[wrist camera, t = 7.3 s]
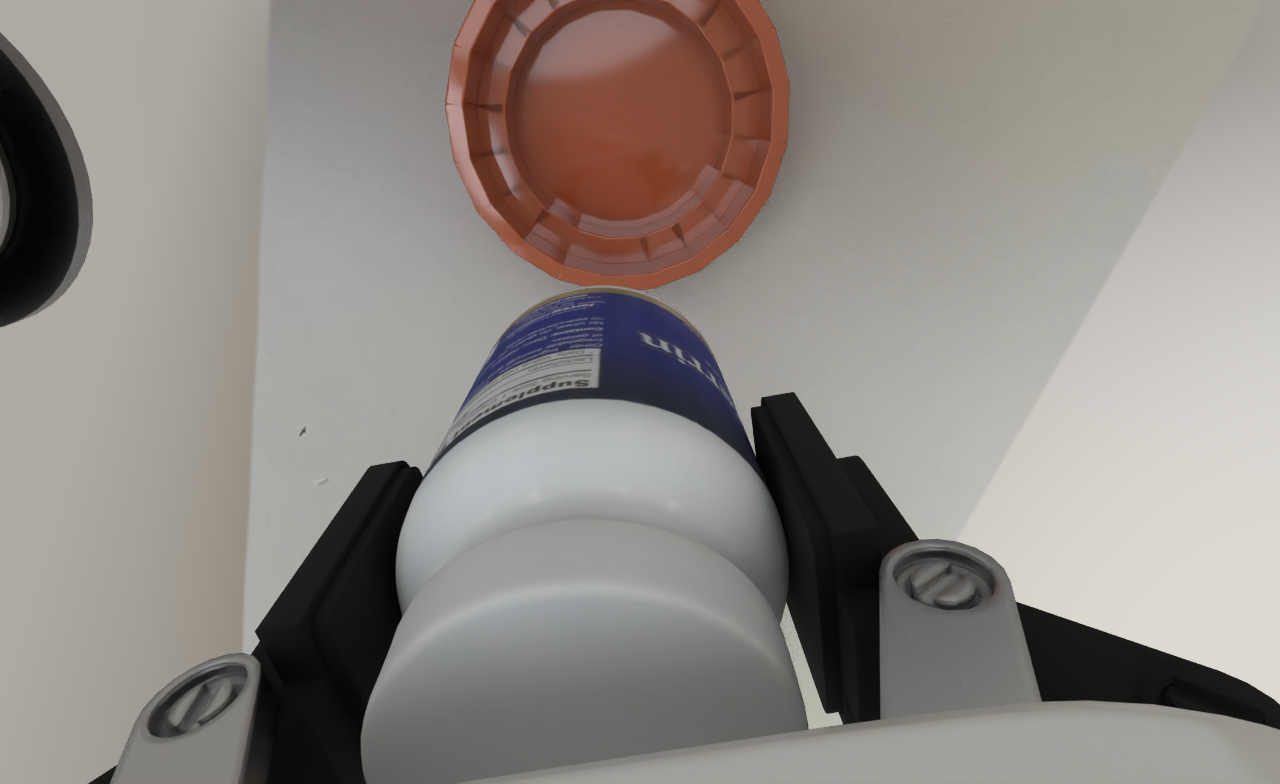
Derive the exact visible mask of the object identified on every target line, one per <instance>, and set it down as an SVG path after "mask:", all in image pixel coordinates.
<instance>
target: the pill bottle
mask: <svg viewBox="0 0 1280 784" xmlns="http://www.w3.org/2000/svg"><path fill="white" fill-rule="evenodd" d="M788 584H789V556H788V548H787V542H786V537H785V533H784V528H783V525H782V521H781V518H780V514H779V512H778V509H777V506H776V504H775V501H774V498H773V496H772V493H771V491H770V488H769V486H768V484H767V481H766V479H765V477H764V474H763V472H762V470H761V467H760V465H759V463H758V461H757V459H756V456H755V454H754V452H753V449H752V447H751V444H750V442H749V440H748V437H747V435H746V432H745V430H744V427H743V424H742V422H741V420H740V417H739V415H738V413H737V410H736V408H735V405H734V403H733V400H732V398H731V396H730V393H729V391H728V388H727V386H726V384H725V381H724V379H723V376H722V373H721V371H720V369H719V367H718V364H717V362H716V360H715V358H714V355H713V353H712V351H711V349H710V347H709V345H708V344H707V342H706V340H705V339H704V338H703V336H702V335H701V333H700V332H699V331H698V329H697V328H696V327H695V326H694V325H693V324H692V323H691V322H690V321H689V320H688V319H687V318H686V317H685V316H684V315H683V314H681V313H680V312H679V311H678V310H676V309H675V308H674V307H672V306H671V305H669V304H668V303H666V302H664V301H662V300H661V299H659V298H657V297H655V296H653V295H650V294H648V293H645V292H642V291H639V290H635V289H630V288H625V287H619V286H607V285H599V286H586V287H579V288H574V289H570V290H566V291H563V292H559V293H557V294H554V295H552V296H550V297H547V298H545V299H543V300H541V301H540V302H538V303H536V304H535V305H533V306H532V307H530V308H529V309H528V310H526V311H525V312H524V313H522V314H521V315H520V316H519V317H518V318H517V319H516V320H515V321H514V322H513V323H512V324H511V325H510V326H509V327H508V328H507V329H506V331H505V332H504V333H503V334H502V336H501V337H500V339H499V340H498V341H497V343H496V344H495V346H494V347H493V349H492V351H491V353H490V354H489V356H488V358H487V360H486V361H485V363H484V365H483V367H482V369H481V370H480V372H479V374H478V376H477V378H476V380H475V382H474V384H473V386H472V388H471V390H470V391H469V393H468V395H467V397H466V399H465V401H464V403H463V405H462V406H461V408H460V410H459V412H458V414H457V416H456V418H455V419H454V421H453V423H452V425H451V427H450V429H449V431H448V432H447V434H446V436H445V438H444V440H443V441H442V443H441V445H440V447H439V449H438V451H437V453H436V455H435V457H434V458H433V460H432V462H431V464H430V466H429V468H428V470H427V472H426V473H425V475H424V477H423V479H422V481H421V483H420V485H419V486H418V488H417V491H416V493H415V495H414V497H413V500H412V502H411V505H410V507H409V510H408V512H407V515H406V517H405V520H404V523H403V526H402V529H401V533H400V537H399V541H398V548H397V555H396V587H397V594H398V600H399V604H400V609H401V614H402V619H401V621H400V623H399V625H398V627H397V629H396V632H395V635H394V638H393V641H392V644H391V647H390V649H389V652H388V654H387V657H386V659H385V662H384V664H383V667H382V669H381V672H380V674H379V677H378V679H377V681H376V684H375V686H374V689H373V691H372V694H371V696H370V699H369V702H368V706H367V709H366V712H365V716H364V721H363V727H362V733H361V758H362V768H363V773H364V777H365V781H366V784H454V783H460V782H466V781H473V780H479V779H486V778H492V777H498V776H505V775H511V774H518V773H524V772H531V771H537V770H544V769H550V768H557V767H563V766H570V765H576V764H583V763H589V762H596V761H602V760H609V759H615V758H622V757H628V756H635V755H642V754H648V753H655V752H662V751H669V750H675V749H682V748H689V747H695V746H702V745H709V744H715V743H722V742H729V741H736V740H742V739H749V738H756V737H762V736H769V735H776V734H782V733H789V732H796V731H803V730H808V721H807V716H806V711H805V706H804V702H803V698H802V694H801V691H800V687H799V684H798V680H797V677H796V673H795V670H794V667H793V663H792V660H791V657H790V654H789V650H788V647H787V645H786V641H785V638H784V635H783V632H782V629H781V627H780V623H781V620H782V616H783V612H784V608H785V604H786V600H787V593H788Z"/></svg>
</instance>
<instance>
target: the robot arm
mask: <svg viewBox="0 0 1280 784" xmlns="http://www.w3.org/2000/svg"><path fill="white" fill-rule="evenodd" d="M15 219H16V190H15V185H14V179H13V174H12V170H11V167H10V164H9V162H8V159H7V157H6V154H5V151H4V149H3V146H2V144H1V142H0V255H1V254H2V252H3V250H4V249H5V247H6V245H7V243H8V241H9V240H10V238H11V236H12V232H13V227H14V223H15ZM751 418H752V427H753V435H754V443H755V452H756V459H757V461H758V463H759V465H760V467H761V470H762V472H763V474H764V477H765V479H766V481H767V484H768V486H769V488H770V491H771V493H772V496H773V498H774V501H775V504H776V506H777V509H778V512H779V514H780V518H781V521H782V525H783V528H784V533H785V537H786V542H787V548H788V556H789V584H788V593H787V600H786V602H787V605H788V608H789V611H790V614H791V617H792V620H793V623H794V625H795V628H796V631H797V634H798V637H799V640H800V643H801V645H802V648H803V651H804V654H805V657H806V660H807V663H808V666H809V668H810V671H811V674H812V677H813V680H814V683H815V686H816V689H817V691H818V694H819V697H820V700H821V703H822V706H823V708H824V710H825V712H826V713H827V714H829V713H835V712H839V714H840V717H841V720H842V722H843V725H838V726H830V727H823V728H816V729H809V730H803V731H796V732H789V733H782V734H776V735H769V736H762V737H756V738H749V739H742V740H736V741H729V742H722V743H715V744H709V745H702V746H695V747H689V748H682V749H675V750H669V751H662V752H655V753H648V754H642V755H635V756H628V757H622V758H615V759H609V760H602V761H596V762H589V763H583V764H576V765H570V766H563V767H557V768H550V769H544V770H537V771H531V772H524V773H518V774H511V775H505V776H498V777H492V778H486V779H479V780H473V781H466V782H460V783H454V784H1280V704H1278V703H1277V702H1276V701H1275V700H1274V699H1272V698H1271V697H1269V696H1268V695H1266V694H1264V693H1263V692H1261V691H1260V690H1258V689H1256V688H1255V687H1253V686H1251V685H1250V684H1248V683H1246V682H1244V681H1242V680H1239V679H1237V678H1234V677H1232V676H1230V675H1227V674H1225V673H1223V672H1220V671H1218V670H1215V669H1212V668H1209V667H1206V666H1203V665H1200V664H1197V663H1194V662H1192V661H1189V660H1185V659H1182V658H1180V657H1177V656H1174V655H1171V654H1168V653H1165V652H1162V651H1159V650H1156V649H1153V648H1150V647H1147V646H1144V645H1142V644H1138V643H1135V642H1133V641H1130V640H1127V639H1124V638H1121V637H1118V636H1115V635H1112V634H1109V633H1106V632H1103V631H1100V630H1098V629H1094V628H1091V627H1089V626H1086V625H1083V624H1080V623H1077V622H1074V621H1071V620H1068V619H1065V618H1062V617H1059V616H1056V615H1054V614H1051V613H1048V612H1045V611H1042V610H1039V609H1036V608H1033V607H1030V606H1027V605H1024V604H1021V603H1018V602H1016V601H1015V597H1014V593H1013V589H1012V585H1011V582H1010V579H1009V578H1008V576H1007V574H1006V572H1005V570H1004V568H1003V567H1002V566H1001V565H1000V564H999V563H998V562H997V561H995V560H994V559H993V558H992V557H991V556H989V555H987V554H986V553H984V552H982V551H980V550H978V549H977V548H974V547H971V546H968V545H965V544H962V543H959V542H955V541H948V540H941V539H926V540H919V539H918V537H917V536H916V535H915V533H914V532H913V530H912V529H911V527H910V526H909V525H908V523H907V522H906V520H905V519H904V518H903V516H902V515H901V513H900V512H899V511H898V509H897V508H896V506H895V505H894V504H893V502H892V501H891V499H890V498H889V497H888V495H887V494H886V492H885V491H884V490H883V488H882V487H881V485H880V484H879V482H878V481H877V480H876V478H875V477H874V475H873V474H872V473H871V471H870V470H869V468H868V467H867V466H866V464H865V463H864V461H863V460H862V459H861V458H860V457H859V456H850V457H844V458H838V459H837V458H836V457H835V455H834V454H833V452H832V451H831V449H830V447H829V446H828V444H827V443H826V441H825V440H824V438H823V436H822V435H821V433H820V432H819V430H818V429H817V427H816V426H815V424H814V422H813V421H812V419H811V418H810V416H809V415H808V413H807V411H806V410H805V408H804V407H803V405H802V404H801V402H800V400H799V399H798V397H797V396H796V394H795V393H794V392H791V393H785V394H779V395H773V396H768V397H762V399H761V406H758V407H752V408H751ZM422 479H423V476H422V474H421V472H420V470H419V469H418V468H417V467H416V466H415V467H410V466H409V465H408V464H407V462H405V461H397V462H391V463H386V464H380V465H374V466H370V467H369V468H368V469H367V471H366V472H365V474H364V475H363V477H362V478H361V480H360V481H359V482H358V484H357V485H356V487H355V488H354V490H353V491H352V492H351V494H350V495H349V497H348V498H347V500H346V501H345V503H344V504H343V505H342V507H341V508H340V510H339V511H338V513H337V514H336V516H335V517H334V518H333V520H332V521H331V523H330V524H329V526H328V527H327V528H326V530H325V531H324V533H323V534H322V536H321V537H320V539H319V540H318V541H317V543H316V544H315V546H314V547H313V549H312V550H311V551H310V553H309V554H308V556H307V557H306V559H305V560H304V562H303V563H302V564H301V566H300V567H299V569H298V570H297V572H296V573H295V574H294V576H293V577H292V579H291V580H290V582H289V583H288V585H287V586H286V587H285V589H284V590H283V592H282V593H281V595H280V596H279V598H278V599H277V600H276V602H275V603H274V605H273V606H272V608H271V609H270V610H269V612H268V613H267V615H266V616H265V618H264V619H263V621H262V622H261V623H260V625H259V626H258V628H257V629H256V631H255V633H256V635H257V636H258V638H259V640H260V642H259V644H258V645H257V646H256V648H255V649H254V651H253V652H252V654H251V655H249V654H245V653H236V654H227V655H223V656H220V657H217V658H213V659H210V660H208V661H206V662H204V663H201V664H199V665H197V666H195V667H193V668H191V669H190V670H188V671H186V672H185V673H183V674H182V675H180V676H179V677H177V678H175V679H174V680H172V681H171V682H170V683H169V684H168V685H167V686H165V687H164V688H163V689H162V690H161V691H159V692H158V693H157V694H156V695H155V696H154V697H153V698H152V699H151V700H150V701H149V703H148V704H147V705H146V706H145V707H144V708H143V710H142V711H141V713H140V715H139V717H138V718H137V720H136V722H135V723H134V726H133V728H132V731H131V733H130V736H129V738H128V741H127V743H126V745H125V748H124V750H123V753H122V755H121V758H120V760H119V763H118V765H116V766H115V767H113V768H112V769H110V770H109V771H107V772H105V773H104V774H102V775H101V776H99V777H98V778H96V779H95V780H93V781H92V782H90V783H89V784H366V781H365V777H364V773H363V768H362V758H361V733H362V727H363V721H364V716H365V712H366V709H367V706H368V702H369V699H370V696H371V694H372V691H373V689H374V686H375V684H376V681H377V679H378V677H379V674H380V672H381V669H382V667H383V664H384V662H385V659H386V657H387V654H388V652H389V649H390V647H391V644H392V641H393V638H394V635H395V632H396V629H397V627H398V625H399V623H400V621H401V619H402V614H401V609H400V604H399V600H398V594H397V587H396V555H397V548H398V541H399V537H400V533H401V529H402V526H403V523H404V520H405V517H406V515H407V512H408V510H409V507H410V505H411V502H412V500H413V497H414V495H415V493H416V491H417V488H418V486H419V485H420V483H421V481H422Z"/></svg>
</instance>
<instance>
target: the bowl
mask: <svg viewBox="0 0 1280 784" xmlns="http://www.w3.org/2000/svg"><path fill="white" fill-rule="evenodd" d="M454 44H455V45H453V49H452V56H451V64H450V71H449V78H448V86H447V93H446V100H445V102H446V104H445V109H446V115H447V121H448V128H449V134H450V140H451V147H452V153H453V160H454V162H455V165H456V167H457V170H458V172H459V174H460V176H461V178H462V180H463V182H464V184H465V186H466V189H467V191H468V193H469V195H470V197H471V199H472V201H473V203H474V205H475V208H476V210H477V212H479V215H480V216H481V217H482V218H483V219H484V220H485V221H486V223H487V224H488V225H489V226H490V227H491V228H492V229H493V230H494V232H495V233H496V234H497V235H498V236H499V237H500V238H501V239H502V241H503V242H504V243H505V244H506V245H507V246H508V247H509V248H510V250H511V251H512V252H514V253H515V254H516V255H518V256H520V257H521V258H523V259H525V260H526V261H528V262H529V263H531V264H533V265H534V266H536V267H538V268H539V269H541V270H542V271H544V272H546V273H547V274H549V275H551V276H552V277H554V278H556V279H557V278H558V280H561V281H565V282H569V283H573V284H577V285H581V286H585V287H586V286H599V285H607V286H619V287H625V288H630V289H635V290H645V289H653V288H657V287H660V286H662V285H665V284H668V283H670V282H673V281H676V280H678V279H681V278H683V277H686V276H689V275H691V274H694V273H697V272H698V271H701V270H702V269H703V268H705V267H706V266H707V265H709V264H710V263H711V262H712V261H714V260H715V259H716V258H717V257H719V256H720V255H721V254H723V253H724V252H725V251H726V250H728V249H729V248H730V247H731V246H733V245H734V244H735V243H737V242H738V241H739V239H740V238H741V237H742V236H743V234H744V233H745V231H746V230H747V228H748V227H749V226H750V224H751V223H752V221H753V220H754V218H755V217H756V216H757V214H758V213H759V211H760V210H761V208H762V207H763V206H764V204H765V203H766V201H767V200H768V198H769V196H770V195H771V192H772V189H773V186H774V183H775V180H776V177H777V174H778V171H779V168H780V165H781V162H782V159H783V156H784V153H785V150H786V147H787V142H788V122H789V96H790V86H789V85H790V82H789V79H788V75H787V71H786V67H785V63H784V59H783V55H782V51H781V48H780V44H779V40H778V36H777V32H776V28H775V27H774V24H773V23H772V21H771V19H770V18H769V16H768V15H767V13H766V11H765V10H764V8H763V7H762V5H761V4H760V2H759V0H474V1H473V4H472V6H471V8H470V10H469V12H468V14H467V16H466V18H465V20H464V22H463V25H462V27H461V29H460V31H459V33H458V35H457V37H456V39H455V41H454Z"/></svg>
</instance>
